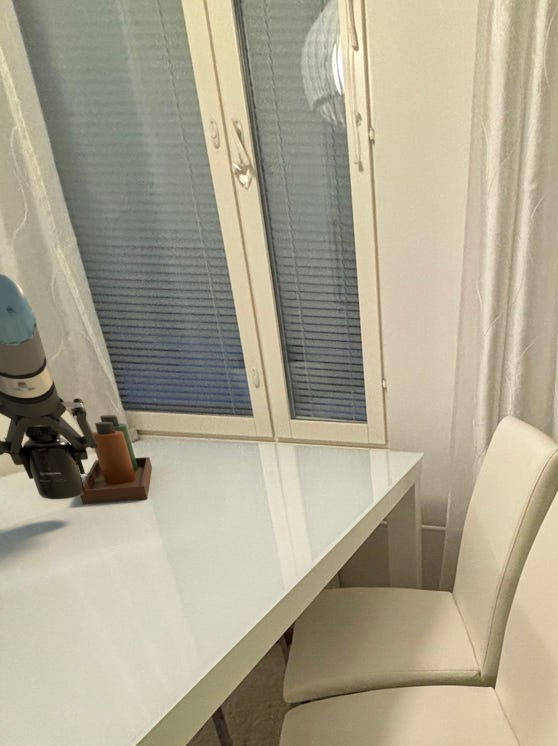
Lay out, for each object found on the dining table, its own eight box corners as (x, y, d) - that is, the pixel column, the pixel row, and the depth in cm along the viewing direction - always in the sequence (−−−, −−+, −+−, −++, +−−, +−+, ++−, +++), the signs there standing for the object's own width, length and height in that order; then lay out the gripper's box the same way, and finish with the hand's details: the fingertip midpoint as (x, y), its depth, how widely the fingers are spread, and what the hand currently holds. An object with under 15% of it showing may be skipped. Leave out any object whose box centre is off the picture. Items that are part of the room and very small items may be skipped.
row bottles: (103, 484, 118) (85, 425, 112) (110, 468, 130) (94, 414, 124) (135, 482, 120) (119, 424, 114) (139, 466, 133) (124, 413, 127)
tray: (82, 504, 107) (78, 491, 106) (98, 471, 130) (95, 460, 129) (147, 499, 112) (143, 486, 110) (152, 467, 134) (149, 457, 133)
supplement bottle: (51, 502, 94) (24, 428, 88) (33, 495, 97) (6, 423, 91) (94, 494, 99) (71, 423, 93) (75, 487, 102) (52, 419, 96)
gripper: (-63, 403, 73) (-9, 494, 93) (108, 398, 84) (125, 481, 103) (-77, 357, 74) (-20, 456, 94) (94, 357, 85) (113, 447, 104)
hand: (55, 469), depth 98 cm, fingers closed on supplement bottle, 7 cm apart
